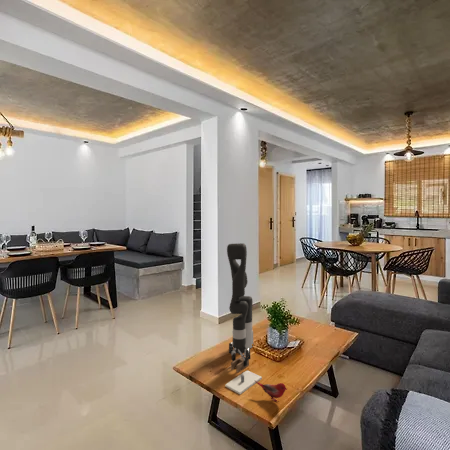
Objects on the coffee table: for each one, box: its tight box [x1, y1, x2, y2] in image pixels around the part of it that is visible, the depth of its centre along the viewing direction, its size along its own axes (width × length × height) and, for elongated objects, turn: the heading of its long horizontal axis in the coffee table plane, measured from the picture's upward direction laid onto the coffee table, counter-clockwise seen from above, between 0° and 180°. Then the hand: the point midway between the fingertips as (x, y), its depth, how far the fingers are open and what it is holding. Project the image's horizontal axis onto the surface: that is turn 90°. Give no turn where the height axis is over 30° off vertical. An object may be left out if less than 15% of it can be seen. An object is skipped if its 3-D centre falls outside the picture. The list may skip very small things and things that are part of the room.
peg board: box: [224, 369, 263, 395], centre depth 161 cm, size 18×10×4 cm, turn 137°
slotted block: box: [230, 356, 250, 373], centre depth 176 cm, size 10×5×4 cm, turn 137°
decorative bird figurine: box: [255, 381, 288, 402], centre depth 147 cm, size 3×18×10 cm, turn 53°
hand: (239, 363), depth 175 cm, fingers open, 8 cm apart
